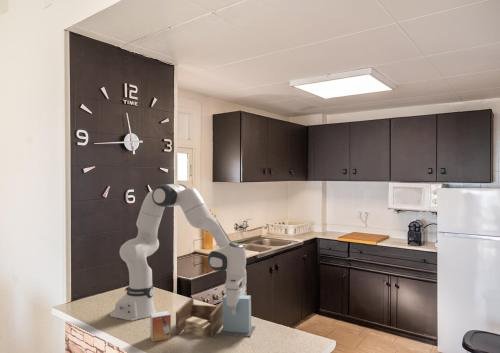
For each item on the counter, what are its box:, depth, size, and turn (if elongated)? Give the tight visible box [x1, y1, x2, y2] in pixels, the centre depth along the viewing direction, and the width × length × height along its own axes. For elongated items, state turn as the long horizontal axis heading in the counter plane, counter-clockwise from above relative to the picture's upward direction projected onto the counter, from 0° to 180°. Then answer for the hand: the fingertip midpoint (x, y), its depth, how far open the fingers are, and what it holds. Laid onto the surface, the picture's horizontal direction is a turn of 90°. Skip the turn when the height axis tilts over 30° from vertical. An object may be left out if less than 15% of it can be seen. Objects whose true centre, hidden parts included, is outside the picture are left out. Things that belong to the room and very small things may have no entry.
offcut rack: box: [175, 297, 223, 339], centre depth 167 cm, size 17×18×10 cm
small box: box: [149, 310, 172, 343], centre depth 158 cm, size 8×6×10 cm
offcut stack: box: [183, 316, 211, 337], centre depth 163 cm, size 11×6×5 cm, turn 63°
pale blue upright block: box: [221, 293, 252, 333], centre depth 164 cm, size 12×4×15 cm, turn 77°
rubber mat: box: [218, 325, 256, 338], centre depth 164 cm, size 14×10×1 cm
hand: (236, 309), depth 164 cm, fingers open, 8 cm apart
